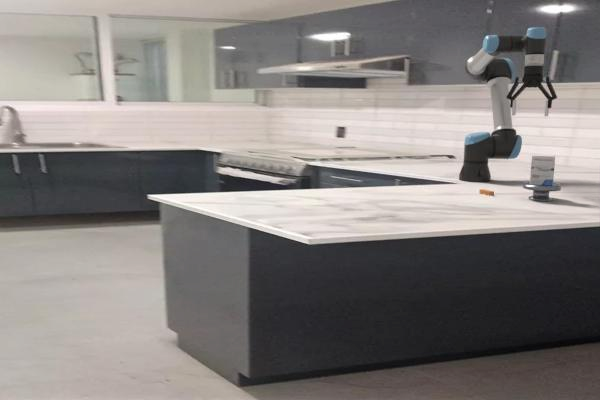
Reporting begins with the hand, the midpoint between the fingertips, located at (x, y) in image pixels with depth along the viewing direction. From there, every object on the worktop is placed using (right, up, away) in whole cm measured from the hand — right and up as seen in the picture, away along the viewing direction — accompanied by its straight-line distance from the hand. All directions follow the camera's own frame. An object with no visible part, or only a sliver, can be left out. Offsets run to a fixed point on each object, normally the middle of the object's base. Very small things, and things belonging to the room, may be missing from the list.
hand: (529, 115), depth 232 cm
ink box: (-2, -31, -16) cm, 34 cm away
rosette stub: (-2, -36, -15) cm, 39 cm away
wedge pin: (-20, -34, -4) cm, 40 cm away
